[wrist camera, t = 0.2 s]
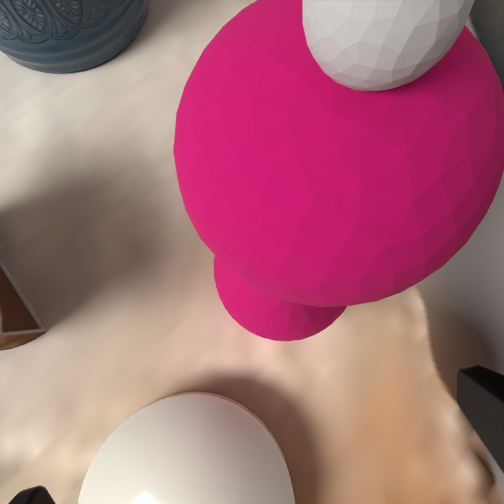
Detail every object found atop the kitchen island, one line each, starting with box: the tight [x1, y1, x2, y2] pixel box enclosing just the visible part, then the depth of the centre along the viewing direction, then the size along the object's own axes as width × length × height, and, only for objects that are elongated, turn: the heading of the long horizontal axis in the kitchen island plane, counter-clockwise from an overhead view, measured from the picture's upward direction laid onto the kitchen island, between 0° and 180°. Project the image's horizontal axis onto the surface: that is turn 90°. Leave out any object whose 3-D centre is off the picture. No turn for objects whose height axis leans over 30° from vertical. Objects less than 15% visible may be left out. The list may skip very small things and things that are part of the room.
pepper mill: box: [174, 0, 504, 341], centre depth 13 cm, size 7×7×20 cm
